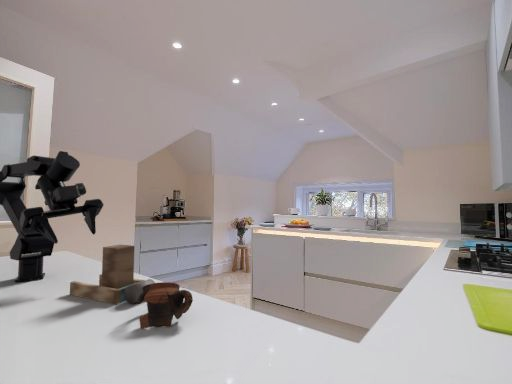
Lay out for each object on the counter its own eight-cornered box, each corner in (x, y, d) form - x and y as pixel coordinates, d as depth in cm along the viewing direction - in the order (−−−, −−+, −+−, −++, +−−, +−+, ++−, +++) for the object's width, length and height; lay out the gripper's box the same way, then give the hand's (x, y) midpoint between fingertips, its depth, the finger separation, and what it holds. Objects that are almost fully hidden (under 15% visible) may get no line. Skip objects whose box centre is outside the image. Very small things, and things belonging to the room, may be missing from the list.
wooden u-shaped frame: (69, 294, 68) (70, 278, 68) (102, 284, 76) (102, 270, 76) (131, 307, 60) (132, 288, 60) (160, 294, 68) (161, 278, 69)
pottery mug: (122, 332, 50) (128, 285, 54) (153, 334, 58) (156, 293, 62) (181, 321, 48) (182, 273, 52) (205, 325, 56) (204, 283, 60)
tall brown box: (101, 296, 67) (102, 247, 67) (118, 290, 71) (120, 244, 72) (116, 299, 65) (117, 248, 65) (133, 293, 69) (134, 245, 70)
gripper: (17, 176, 66) (40, 230, 62) (98, 171, 81) (120, 214, 77) (11, 204, 72) (31, 254, 67) (87, 194, 87) (107, 235, 83)
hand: (76, 237), depth 73 cm, fingers open, 9 cm apart
